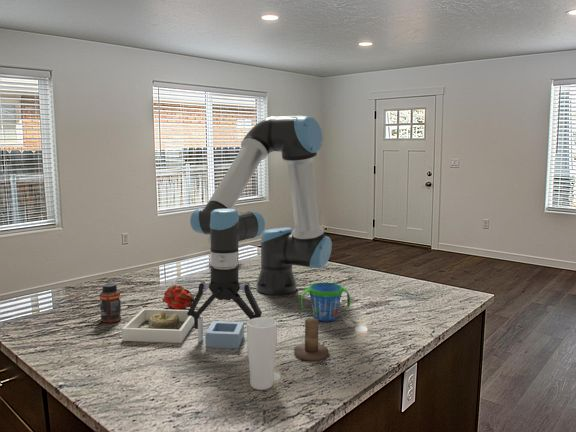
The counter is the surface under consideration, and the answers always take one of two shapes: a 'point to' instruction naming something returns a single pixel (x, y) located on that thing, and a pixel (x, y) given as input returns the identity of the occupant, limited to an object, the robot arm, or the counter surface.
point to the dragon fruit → (178, 298)
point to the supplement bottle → (110, 303)
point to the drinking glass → (261, 351)
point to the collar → (224, 334)
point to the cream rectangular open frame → (157, 335)
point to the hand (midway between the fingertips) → (224, 340)
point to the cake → (164, 321)
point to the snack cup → (325, 300)
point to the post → (311, 343)
